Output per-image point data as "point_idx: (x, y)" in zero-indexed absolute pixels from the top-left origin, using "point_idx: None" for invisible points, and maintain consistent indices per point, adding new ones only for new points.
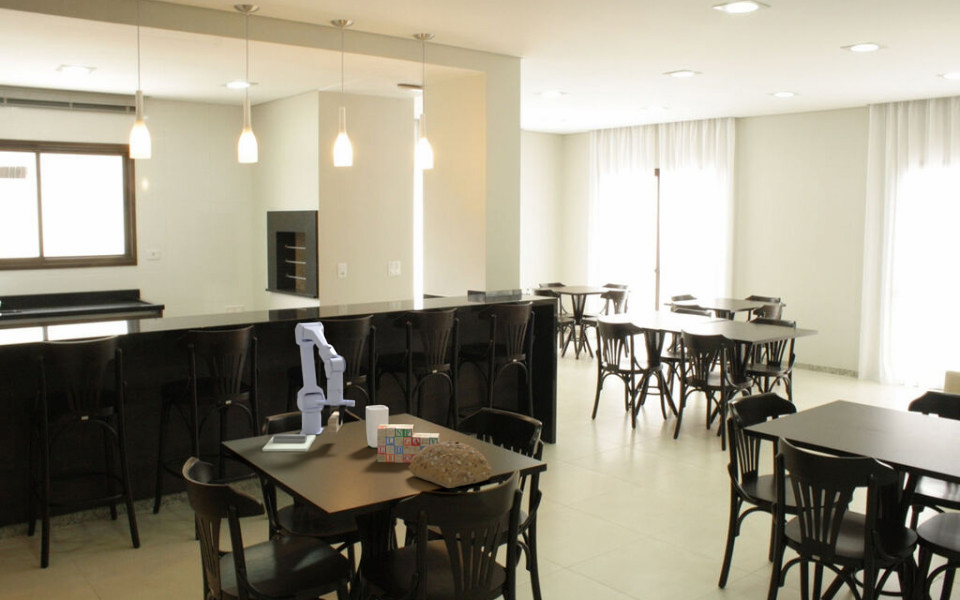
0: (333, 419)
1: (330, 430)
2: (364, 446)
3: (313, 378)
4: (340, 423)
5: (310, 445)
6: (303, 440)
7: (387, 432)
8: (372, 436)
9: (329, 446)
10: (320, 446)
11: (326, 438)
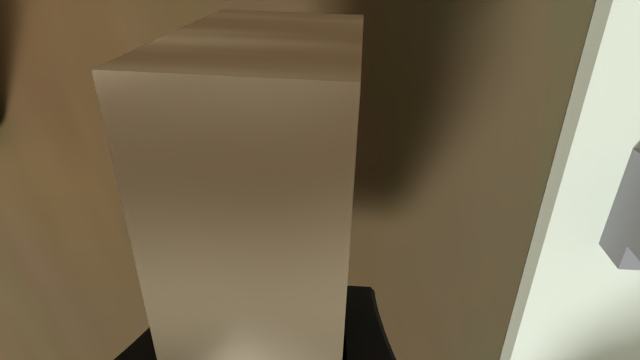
0: (189, 136)
1: (311, 21)
2: (28, 96)
3: None
4: None
5: (559, 138)
6: None
7: None
8: None
9: (360, 102)
10: (453, 104)
11: (411, 336)
